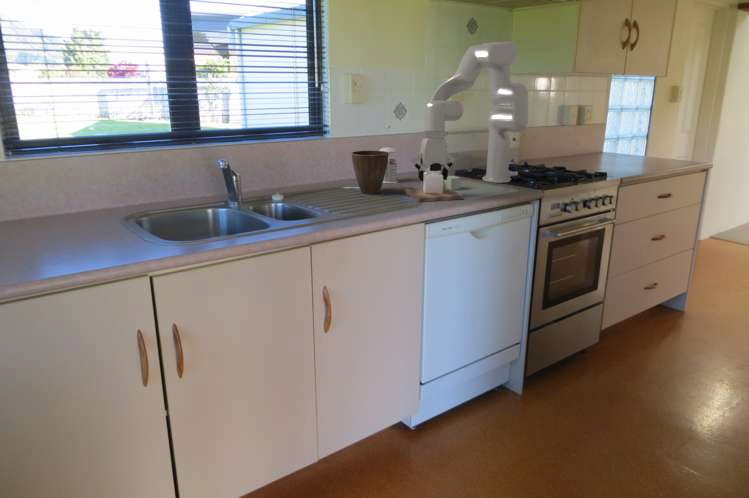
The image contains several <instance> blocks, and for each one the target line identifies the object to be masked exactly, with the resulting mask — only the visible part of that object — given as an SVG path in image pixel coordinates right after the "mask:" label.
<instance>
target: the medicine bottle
mask: <svg viewBox="0 0 749 498" xmlns="http://www.w3.org/2000/svg"><path fill="white" fill-rule="evenodd" d="M442 167H443V166H442V165H441V164H440V163H433V164H431V165H430V166H425V171H424V181H423V187H422V188H423V190H424V193H425V194H442V193H443V187H444V179H443V175H442Z"/></svg>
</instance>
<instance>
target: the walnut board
mask: <svg viewBox="0 0 749 498" xmlns="http://www.w3.org/2000/svg"><path fill="white" fill-rule="evenodd" d="M403 193H404V194H405V193H406V194H405V195H407V194H408V195H409V196H408V195H407V196H408V197H410V196H411V197H413V198H414V199H416V200H417V201H416V200H415V201H416V202H418V203H424V202H428V201H429V202H440V201H441V202H442V201H444V200H445V201H456V200H455V199H462V200H464V195H462V194H461V193H460V192H456V190H451V189H449V188H447V187H444V186H443V193H442V194H425V193H424V190H423V187H414V188H412V187H411V188H403ZM411 197H410V198H411ZM413 198H412V199H413ZM414 199H413V200H414Z"/></svg>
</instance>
